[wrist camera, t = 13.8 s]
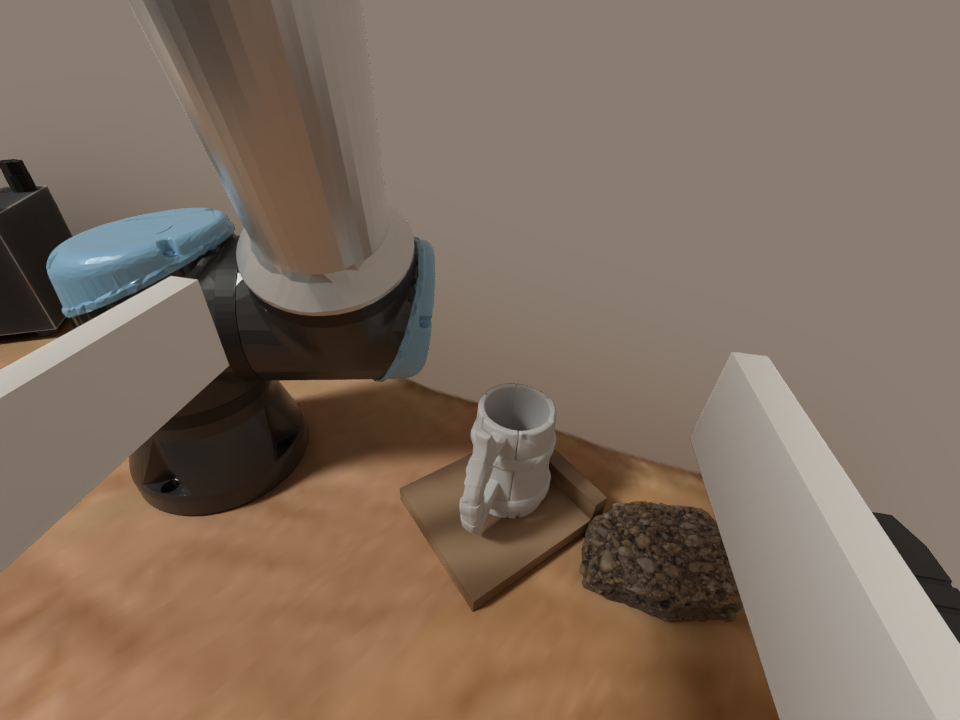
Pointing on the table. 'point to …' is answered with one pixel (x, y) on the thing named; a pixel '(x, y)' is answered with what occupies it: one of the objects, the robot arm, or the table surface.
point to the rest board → (499, 527)
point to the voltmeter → (28, 254)
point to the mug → (508, 455)
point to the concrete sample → (660, 562)
